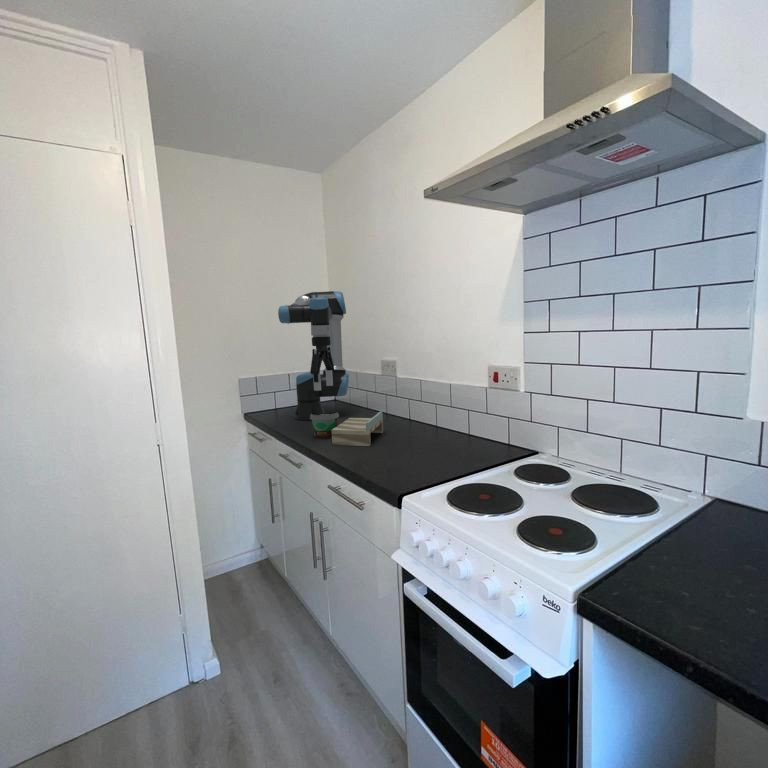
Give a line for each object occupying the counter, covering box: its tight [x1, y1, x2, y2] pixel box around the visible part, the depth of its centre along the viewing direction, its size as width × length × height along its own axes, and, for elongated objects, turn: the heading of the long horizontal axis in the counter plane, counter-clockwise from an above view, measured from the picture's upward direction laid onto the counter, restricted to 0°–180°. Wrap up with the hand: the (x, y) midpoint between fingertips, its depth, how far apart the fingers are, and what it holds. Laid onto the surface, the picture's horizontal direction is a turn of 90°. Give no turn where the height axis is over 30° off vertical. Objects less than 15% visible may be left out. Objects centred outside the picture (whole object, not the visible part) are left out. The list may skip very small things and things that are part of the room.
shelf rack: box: [331, 410, 384, 447], centre depth 171 cm, size 22×15×9 cm
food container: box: [310, 411, 340, 439], centre depth 175 cm, size 12×6×10 cm, turn 92°
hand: (323, 388), depth 173 cm, fingers open, 13 cm apart
